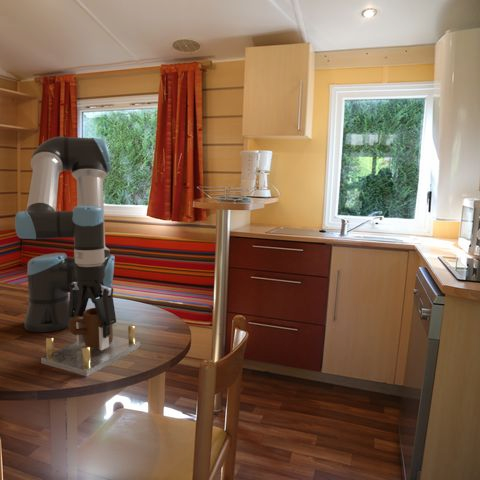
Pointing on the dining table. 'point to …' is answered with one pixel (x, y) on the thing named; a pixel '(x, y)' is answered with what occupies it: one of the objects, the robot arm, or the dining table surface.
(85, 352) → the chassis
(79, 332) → the mug
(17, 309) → the dining table surface
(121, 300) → the dining table surface
